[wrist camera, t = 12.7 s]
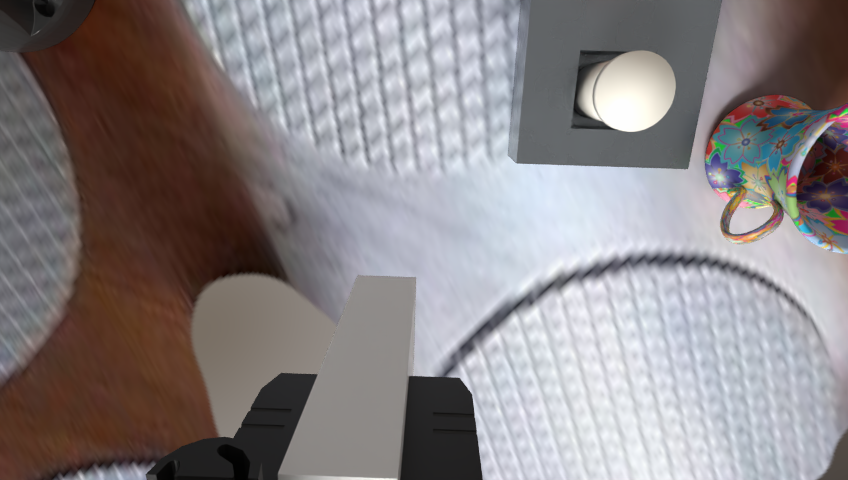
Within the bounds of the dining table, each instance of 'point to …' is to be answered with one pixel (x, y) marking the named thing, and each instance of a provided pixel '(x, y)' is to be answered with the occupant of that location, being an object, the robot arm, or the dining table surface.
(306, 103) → the dining table surface
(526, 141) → the plug board
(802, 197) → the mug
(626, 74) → the cream plug
